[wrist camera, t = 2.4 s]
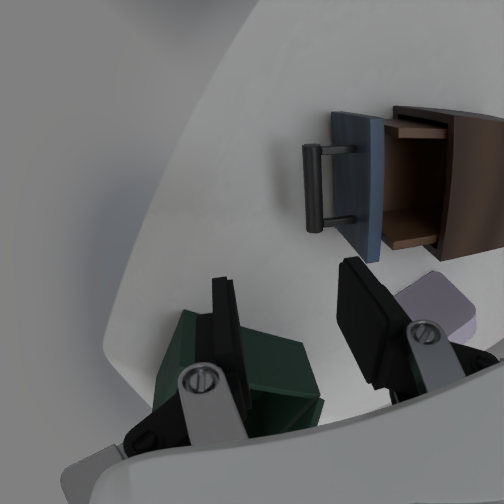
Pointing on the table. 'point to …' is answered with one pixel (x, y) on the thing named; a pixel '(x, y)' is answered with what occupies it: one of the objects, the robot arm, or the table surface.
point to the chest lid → (309, 417)
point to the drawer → (380, 182)
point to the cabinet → (468, 181)
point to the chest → (250, 376)
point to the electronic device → (440, 306)
